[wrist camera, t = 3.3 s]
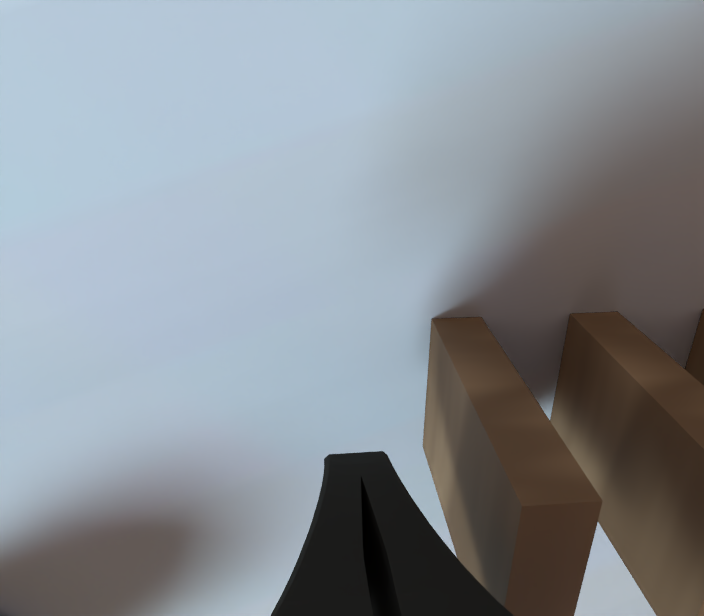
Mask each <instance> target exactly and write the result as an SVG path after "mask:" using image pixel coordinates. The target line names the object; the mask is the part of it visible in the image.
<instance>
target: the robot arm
mask: <svg viewBox="0 0 704 616" xmlns="http://www.w3.org/2000/svg"><path fill="white" fill-rule="evenodd" d="M324 465H325V466H324V476H323V482H322V487H321V491H320V496H319V500H318V503H317V507H316V510H315V513H314V517H313V520H312V523H311V526H310V529H309V532H308V535H307V537H306V540H305V543H304V545H303V548H302V550H301V553H300V556H299V558H298V561H297V563H296V565H295V567H294V570H293V572H292V574H291V576H290V579H289V581H288V583H287V585H286V587H285V589H284V591H283V593H282V595H281V597H280V599H279V601H278V603H277V605H276V607H275V608H274V610H273V612H272V614H271V616H514V615H513V614H512V613H511V612H509V611H508V610H507V609H506V608H505V607H504V606H503V605H502V604H500V603H499V602H498V601H497V600H496V599H495V598H494V597H493V596H492V595H491V594H490V593H489V592H488V591H487V590H486V589H485V588H484V587H483V586H482V585H481V584H480V583H479V582H478V581H477V579H476V578H475V577H474V576H473V575H472V574H471V573H470V572H469V571H468V570H467V569H466V568H465V567H464V565H463V564H462V563H461V562H460V561H459V560H458V559H457V557H456V556H455V555H454V554H453V553H452V552H451V550H450V549H449V548H448V547H447V545H446V544H445V543H444V542H443V540H442V539H441V538H440V537H439V535H438V534H437V533H436V531H435V530H434V529H433V528H432V526H431V525H430V524H429V522H428V521H427V519H426V518H425V516H424V515H423V514H422V512H421V511H420V509H419V508H418V507H417V505H416V504H415V502H414V501H413V499H412V498H411V496H410V495H409V493H408V491H407V490H406V488H405V487H404V485H403V483H402V482H401V480H400V478H399V477H398V475H397V473H396V471H395V470H394V468H393V466H392V464H391V462H390V460H389V458H388V455H387V454H385V453H384V452H383V451H379V452H363V453H346V454H329V455H328V456H327V457H326V458H325V459H324Z"/></svg>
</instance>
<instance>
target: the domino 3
mask: <svg viewBox="0 0 704 616" xmlns="http://www.w3.org/2000/svg"><path fill="white" fill-rule="evenodd" d="M685 370H686V371H687V372H688V373H690V374H691V375H692V376H693V377H694V378H695V379H697V380H698V381H699V382H700V383H701V384H702V385H704V309H703V310H702V313H701V317H700V320H699V324H698V327H697V330H696V334H695V337H694V341H693V344H692V347H691V351H690V354H689V357H688V361H687V364H686V368H685Z"/></svg>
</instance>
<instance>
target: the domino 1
mask: <svg viewBox="0 0 704 616" xmlns="http://www.w3.org/2000/svg"><path fill="white" fill-rule="evenodd" d="M423 449H424V452H425V455H426V458H427V461H428V465H429V468H430V471H431V474H432V478H433V481H434V484H435V487H436V490H437V494H438V497H439V500H440V503H441V507H442V510H443V513H444V516H445V519H446V523H447V526H448V529H449V532H450V536H451V539H452V542H453V545H454V548H455V552H456V555H457V558H458V560H459V561H460V562H461V563H462V564H463V565H464V567H465V568H466V569H467V570H468V571H469V572H470V573H471V574H472V575H473V576H474V577H475V578H476V579H477V581H478V582H479V583H480V584H481V585H482V586H483V587H484V588H485V589H486V590H487V591H488V592H489V593H490V594H491V595H492V596H493V597H494V598H495V599H496V600H497V601H498V602H499V603H500V604H502V605H503V606H504V607H505V608H506V609H507V610H508V611H509V612H511V613H512V614H513V615H514V616H574V613H575V609H576V605H577V601H578V597H579V593H580V589H581V585H582V581H583V577H584V573H585V570H586V566H587V562H588V558H589V554H590V550H591V546H592V542H593V538H594V534H595V530H596V526H597V522H598V518H599V514H600V510H601V506H602V502H603V501H602V499H601V498H600V496H599V495H598V493H597V491H596V490H595V488H594V487H593V485H592V484H591V482H590V481H589V479H588V478H587V476H586V475H585V473H584V472H583V470H582V469H581V467H580V466H579V464H578V463H577V461H576V460H575V458H574V457H573V455H572V454H571V452H570V451H569V449H568V448H567V446H566V445H565V443H564V442H563V440H562V438H561V437H560V435H559V434H558V432H557V431H556V429H555V428H554V426H553V425H552V423H551V422H550V420H549V419H548V417H547V416H546V414H545V413H544V411H543V410H542V408H541V407H540V405H539V404H538V402H537V401H536V399H535V398H534V396H533V395H532V393H531V392H530V390H529V389H528V387H527V386H526V384H525V382H524V381H523V379H522V378H521V376H520V375H519V373H518V372H517V370H516V369H515V367H514V366H513V364H512V363H511V361H510V360H509V358H508V357H507V355H506V354H505V352H504V351H503V349H502V348H501V346H500V345H499V343H498V342H497V340H496V339H495V337H494V336H493V334H492V333H491V331H490V329H489V328H488V326H487V325H486V323H485V322H484V320H483V319H482V317H467V318H441V319H432V321H431V336H430V350H429V364H428V379H427V393H426V407H425V421H424V436H423Z"/></svg>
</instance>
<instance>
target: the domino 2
mask: <svg viewBox="0 0 704 616" xmlns="http://www.w3.org/2000/svg"><path fill="white" fill-rule="evenodd" d="M550 422H551V423H552V425H553V426H554V428H555V429H556V431H557V432H558V434H559V435H560V437H561V438H562V440H563V442H564V443H565V445H566V446H567V448H568V449H569V451H570V452H571V454H572V455H573V457H574V458H575V460H576V461H577V463H578V464H579V466H580V467H581V469H582V470H583V472H584V473H585V475H586V476H587V478H588V479H589V481H590V482H591V484H592V485H593V487H594V488H595V490H596V491H597V493H598V495H599V496H600V498H601V499H602V501H603V502H602V506H601V510H600V514H599V518H598V522H599V524H600V525H601V527H602V529H603V530H604V532H605V533H606V535H607V537H608V538H609V540H610V541H611V543H612V545H613V546H614V548H615V550H616V551H617V553H618V554H619V556H620V558H621V559H622V561H623V562H624V564H625V566H626V567H627V569H628V570H629V572H630V574H631V575H632V577H633V578H634V580H635V582H636V583H637V585H638V586H639V588H640V590H641V591H642V593H643V594H644V596H645V598H646V599H647V601H648V603H649V604H650V606H651V607H652V609H653V611H654V612H655V614H656V615H657V616H704V385H702V384H701V383H700V382H699V381H698V380H697V379H695V378H694V377H693V376H692V375H691V374H690V373H688V372H687V371H686V370H685V369H684V368H683V367H681V366H680V365H679V364H678V363H677V362H676V361H674V360H673V359H672V358H671V357H670V356H669V355H667V354H666V353H665V352H664V351H663V350H662V349H660V348H659V347H658V346H657V345H656V344H655V343H653V342H652V341H651V340H650V339H649V338H648V337H646V336H645V335H644V334H643V333H642V332H641V331H639V330H638V329H637V328H636V327H635V326H634V325H632V324H631V323H630V322H629V321H628V320H627V319H625V318H624V317H623V316H622V315H621V314H620V313H618V312H598V313H572V314H570V316H569V322H568V327H567V333H566V338H565V343H564V349H563V354H562V360H561V365H560V370H559V376H558V381H557V387H556V392H555V397H554V403H553V408H552V413H551V419H550Z"/></svg>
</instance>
